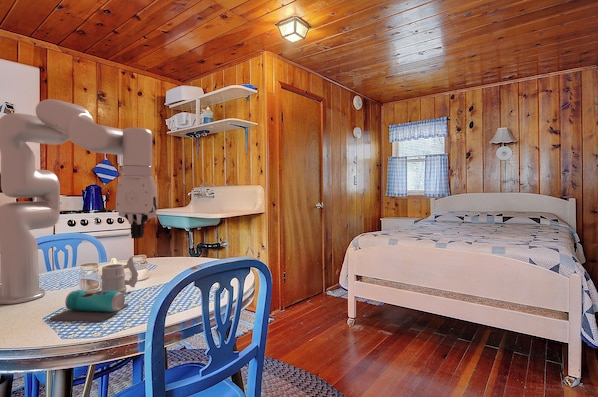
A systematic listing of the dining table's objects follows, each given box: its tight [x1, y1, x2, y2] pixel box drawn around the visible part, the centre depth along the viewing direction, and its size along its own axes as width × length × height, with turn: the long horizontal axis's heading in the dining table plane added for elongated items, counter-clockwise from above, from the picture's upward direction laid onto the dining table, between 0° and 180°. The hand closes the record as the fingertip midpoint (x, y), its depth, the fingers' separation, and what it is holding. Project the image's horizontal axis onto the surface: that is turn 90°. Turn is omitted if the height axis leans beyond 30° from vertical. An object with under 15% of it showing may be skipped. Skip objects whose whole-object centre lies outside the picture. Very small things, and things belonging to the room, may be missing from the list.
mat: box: [49, 303, 129, 323], centre depth 98 cm, size 15×12×1 cm
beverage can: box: [64, 289, 126, 312], centre depth 98 cm, size 6×6×15 cm
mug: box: [100, 256, 139, 296], centre depth 115 cm, size 8×12×12 cm, turn 139°
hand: (137, 237), depth 95 cm, fingers closed
